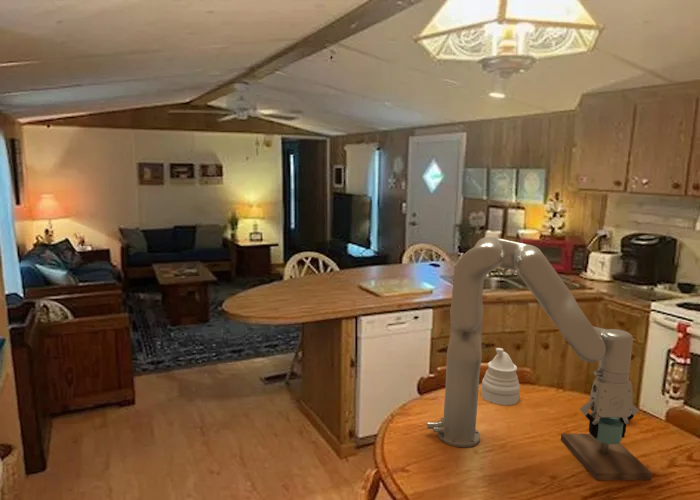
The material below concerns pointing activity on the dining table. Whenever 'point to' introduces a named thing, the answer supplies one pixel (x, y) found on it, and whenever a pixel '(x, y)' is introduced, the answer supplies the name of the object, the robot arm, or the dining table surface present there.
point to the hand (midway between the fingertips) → (606, 434)
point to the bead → (609, 430)
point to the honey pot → (501, 380)
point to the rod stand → (605, 458)
